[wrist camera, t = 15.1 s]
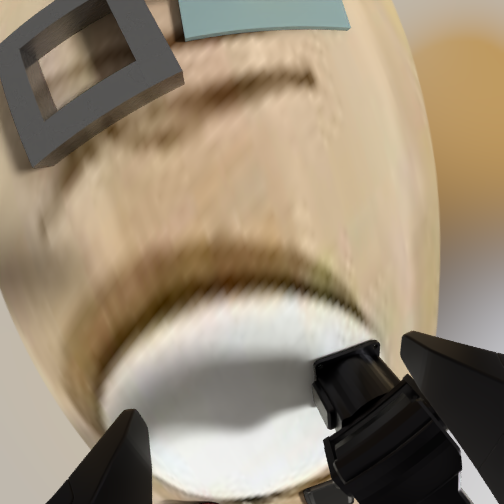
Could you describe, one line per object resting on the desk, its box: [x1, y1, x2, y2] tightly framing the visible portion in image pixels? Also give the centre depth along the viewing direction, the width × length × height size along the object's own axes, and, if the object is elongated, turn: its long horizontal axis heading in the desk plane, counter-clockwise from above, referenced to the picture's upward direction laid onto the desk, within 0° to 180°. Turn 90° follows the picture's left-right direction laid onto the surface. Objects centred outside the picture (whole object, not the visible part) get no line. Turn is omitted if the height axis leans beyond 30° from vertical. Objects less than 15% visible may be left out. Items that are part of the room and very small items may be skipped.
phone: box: [303, 480, 354, 504], centre depth 35 cm, size 8×1×15 cm
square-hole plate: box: [0, 0, 184, 168], centre depth 14 cm, size 10×10×3 cm
